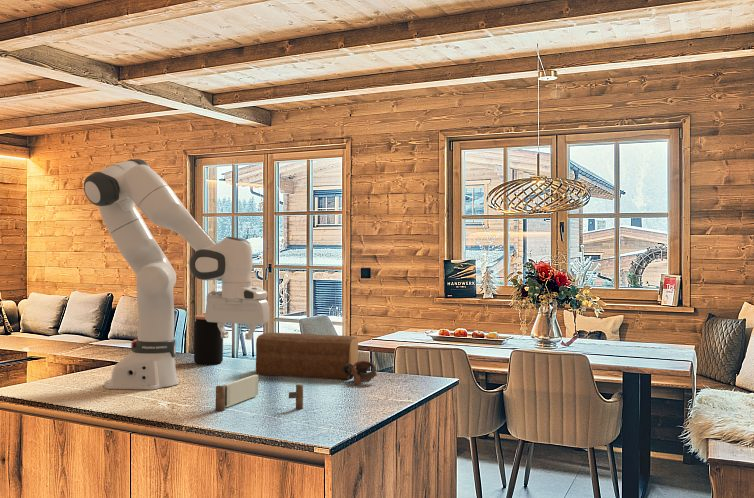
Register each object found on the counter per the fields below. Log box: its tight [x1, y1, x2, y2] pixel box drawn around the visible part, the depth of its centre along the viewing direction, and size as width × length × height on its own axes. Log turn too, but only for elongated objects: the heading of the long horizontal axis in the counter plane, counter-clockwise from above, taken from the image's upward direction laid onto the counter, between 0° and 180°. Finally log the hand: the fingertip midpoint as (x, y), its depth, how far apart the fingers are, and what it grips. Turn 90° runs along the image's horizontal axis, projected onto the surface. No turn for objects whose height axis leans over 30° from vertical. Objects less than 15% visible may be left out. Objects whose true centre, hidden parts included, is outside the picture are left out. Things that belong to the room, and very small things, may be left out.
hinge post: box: [214, 385, 226, 412], centre depth 191 cm, size 2×2×6 cm
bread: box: [255, 332, 359, 380], centre depth 248 cm, size 14×34×14 cm, turn 79°
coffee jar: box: [193, 314, 224, 366], centre depth 266 cm, size 11×11×18 cm
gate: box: [222, 374, 259, 408], centre depth 202 cm, size 17×1×6 cm, turn 160°
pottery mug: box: [343, 360, 378, 386], centre depth 234 cm, size 12×10×8 cm
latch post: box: [288, 383, 304, 410], centre depth 195 cm, size 4×3×6 cm, turn 100°
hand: (236, 338), depth 208 cm, fingers open, 7 cm apart
